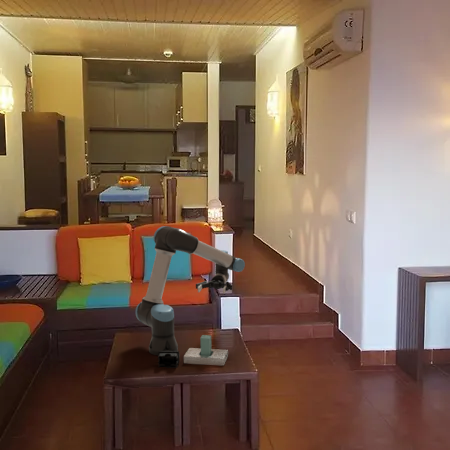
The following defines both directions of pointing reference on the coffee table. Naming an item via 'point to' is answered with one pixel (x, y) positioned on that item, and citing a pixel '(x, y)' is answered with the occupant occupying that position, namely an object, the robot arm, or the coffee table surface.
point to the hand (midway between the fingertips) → (211, 290)
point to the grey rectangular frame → (206, 357)
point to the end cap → (168, 359)
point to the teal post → (206, 345)
